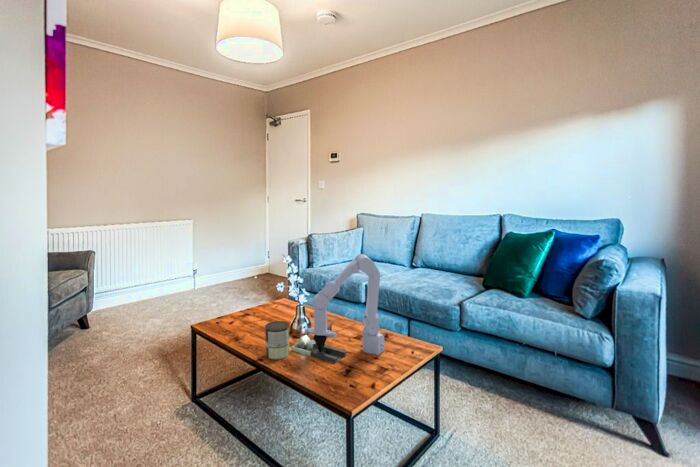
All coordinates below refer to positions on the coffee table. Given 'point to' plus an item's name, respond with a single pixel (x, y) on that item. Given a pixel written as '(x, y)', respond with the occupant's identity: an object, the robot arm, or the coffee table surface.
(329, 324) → the bull figurine
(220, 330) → the coffee table surface
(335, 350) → the slot board
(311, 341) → the grey cube
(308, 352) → the tray
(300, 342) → the chip
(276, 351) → the coffee can
